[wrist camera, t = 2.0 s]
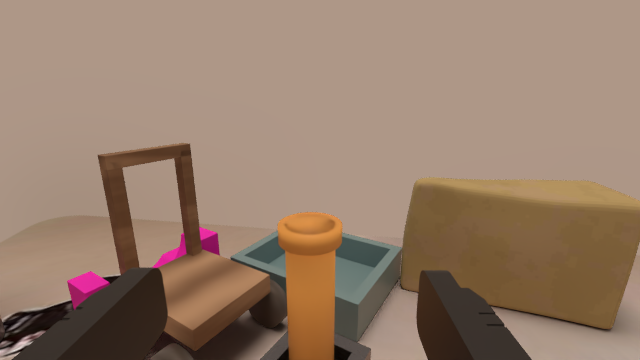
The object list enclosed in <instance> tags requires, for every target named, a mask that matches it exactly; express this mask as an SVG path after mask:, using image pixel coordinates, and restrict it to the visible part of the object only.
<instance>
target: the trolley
mask: <svg viewBox="0 0 640 360" xmlns="http://www.w3.org/2000/svg"><path fill="white" fill-rule="evenodd" d="M172 158H174V160H175V167H176V175H177V183H178V191H179V199H180V207H181V214H182V222H183V230H184V238H185V246H186V253H187V254H185V255H183V256H181V257H179V258H177V259H174V260H172V261H170V262H168V263H166V264H164V265H162V266H160V267H158V269H160V271H161V273H162V277H163V284H164V290H165V297H166V303H167V309H168V318H167V323H166V326H165V329H164V331H165V332H166V333H168V334H169V335H171V336H172V337H174V338H175V339H177V340H178V341H180V342H181V343H183V344H185V345H186V346H188V347H189V348H191V349H192V350H194V351H195V352H196V351H197V350H198V349H199V348H201V347H202V346H203V345H204V344H206V343H207V342H208V341H209V340H211V339H212V338H213V337H214V336H216V335H217V334H218V333H219V332H221V331H222V330H223V329H224V328H226V327H227V326H228V325H230V324H231V323H232V322H233V321H235V320H236V319H237V318H238V317H240V316H241V315H242V314H243V313H245V312H246V311H247V310H249V312H250V313H251V315H252V316H253V318H254V319H255V320H256V321H257V322H258V323H260V324H261V325H263V326H265V327H268V328H273V327H275V326H277V325H278V324H279V323H280V322H281V321H282V320H283V319H284V318H285V317H286V316H287V296H286V294H285V292H284V290H283V289H282V288H281V287H280V286H279V285H278V284H277V283H276V282H275V281H273V280H271V279H270V275H269V274H266V273H263V272H261V271H258V270H256V269H253V268H250V267H248V266H245V265H242V264H240V263H237V262H235V261H232V260H229V259H227V258H224V257H221V256H219V255H216V254H214V253H211V252H208V251H206V250H203V249H202V247H201V238H200V229H199V220H198V212H197V202H196V194H195V185H194V177H193V167H192V158H191V150H190V144H186V143H179V144H172V145H165V146H158V147H151V148H144V149H137V150H130V151H123V152H115V153H108V154H101V155H98V159H99V164H100V170H101V175H102V180H103V185H104V190H105V195H106V200H107V205H108V210H109V216H110V221H111V226H112V231H113V237H114V242H115V247H116V252H117V257H118V262H119V268H120V273H121V275H122V274H124V273H125V272H126V271H127V270H129V269H130V268H140V267H139V261H138V256H137V250H136V244H135V239H134V233H133V227H132V221H131V216H130V210H129V204H128V199H127V193H126V187H125V181H124V176H123V170H122V168H123V167H128V166H134V165H139V164H145V163H150V162H156V161H161V160H167V159H172ZM150 360H194V359H193V358H192V356H191V355H190V354H189V353H188V352H187V351H186V350H185V349H184V348H183V347H182V346H180V345H178V344H176V343H170V344H169V345H167V346H166V347H165V348H163V349H162V350H160V351H159V352H158V353H156V354H155V355H153V356H152V357H151V358H150Z"/></svg>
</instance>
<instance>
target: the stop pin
mask: <svg viewBox="0 0 640 360" xmlns="http://www.w3.org/2000/svg"><path fill="white" fill-rule="evenodd" d="M278 243H279V246H280V247H281V248H282V249H283V250H285V258H286V287H287V316H288V345H289V360H334V322H335V250H336V249H337V248H339V247H340V245H341V243H342V222H341V221H340V220H339V219H338V218H337V217H335V216H332V215H329V214H325V213H316V212H305V213H297V214H293V215H290V216H287V217H285V218H283V219H282V220H280V222H279V223H278Z"/></svg>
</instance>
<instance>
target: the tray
mask: <svg viewBox="0 0 640 360" xmlns="http://www.w3.org/2000/svg"><path fill="white" fill-rule="evenodd" d="M401 254H402V248H401V247H397V246H393V245H389V244H385V243H381V242H377V241H373V240H369V239H365V238H361V237H357V236H353V235H349V234H345V233H342V243H341V245H340V247H339V248H337V249H336V250H335V322H334V332H335V333H337V334H339V335H341V336H344V337H346V338H348V339H350V340H353V341H355V342H358V340H359V339H360V337H361V336H362V334H363V333H364V331H365V330H366V328H367V326H368V325H369V323H370V322H371V320H372V319H373V317H374V316H375V314H376V313H377V311H378V310H379V308H380V306H381V305H382V303H383V302H384V300H385V299H386V297H387V296H388V294H389V293H390V291H391V290H392V288H393V286H394V285H395V283H396V282H397V280H398V279H399V277H400V267H401ZM231 260H232V261H235V262H237V263H240V264H242V265H245V266H248V267H250V268H253V269H256V270H258V271H261V272H263V273H266V274H269V275H270V279H271V280H273V281H275V282H276V283H277V284H278V285H279V286H280V287H281V288H282V289H283V290H284V292H285V294H286V296H287V287H286V258H285V250H283V249H282V248H281V247H280V246H279V243H278V231H276V232H274V233H272V234H271V235H269V236H267V237H265V238H264V239H262V240H260V241H258V242H256V243H255V244H253V245H251V246H249V247H248V248H246V249H244V250H242V251H240V252H239V253H237V254H235V255H233V256H231Z"/></svg>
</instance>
